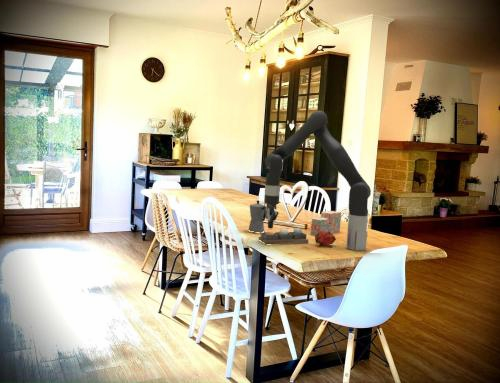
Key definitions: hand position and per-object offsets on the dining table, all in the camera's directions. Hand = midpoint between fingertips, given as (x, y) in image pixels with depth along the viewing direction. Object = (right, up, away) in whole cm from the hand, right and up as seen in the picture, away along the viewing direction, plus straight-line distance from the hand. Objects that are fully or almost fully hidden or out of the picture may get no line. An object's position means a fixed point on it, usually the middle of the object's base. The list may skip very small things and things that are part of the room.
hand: (270, 228), depth 235 cm
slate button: (+15, -4, +7) cm, 17 cm away
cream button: (+7, -4, +4) cm, 9 cm away
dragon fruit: (+28, -9, +1) cm, 29 cm away
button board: (+7, -8, +4) cm, 11 cm away
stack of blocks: (+34, -6, +35) cm, 49 cm away
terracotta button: (0, -5, +1) cm, 5 cm away
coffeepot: (-6, -5, +26) cm, 27 cm away
